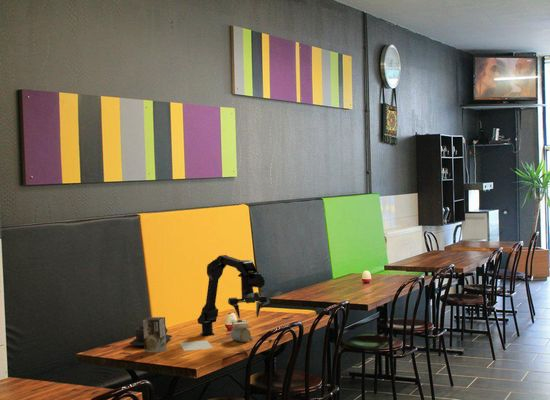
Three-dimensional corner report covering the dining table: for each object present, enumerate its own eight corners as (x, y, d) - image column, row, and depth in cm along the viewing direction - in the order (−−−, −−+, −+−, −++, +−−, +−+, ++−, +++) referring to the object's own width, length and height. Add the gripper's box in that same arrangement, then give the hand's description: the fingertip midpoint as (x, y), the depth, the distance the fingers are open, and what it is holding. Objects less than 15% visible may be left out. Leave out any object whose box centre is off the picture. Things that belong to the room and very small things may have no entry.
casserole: (152, 337, 391) (151, 321, 391) (180, 339, 382) (180, 323, 382) (121, 347, 369) (120, 330, 369) (150, 350, 360) (149, 333, 360)
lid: (231, 324, 377) (231, 318, 377) (245, 323, 379) (245, 317, 379) (234, 328, 367) (234, 322, 367) (248, 327, 368) (248, 321, 368)
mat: (179, 344, 372) (179, 343, 372) (207, 341, 375) (207, 340, 375) (184, 351, 354) (184, 350, 354) (213, 349, 358) (213, 348, 358)
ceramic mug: (241, 343, 367) (240, 328, 367) (230, 341, 373) (230, 326, 373) (256, 340, 374) (256, 325, 374) (246, 338, 380) (245, 323, 380)
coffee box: (167, 350, 359) (165, 317, 359) (160, 353, 353) (159, 319, 353) (150, 349, 362) (149, 316, 362) (143, 352, 356) (142, 319, 356)
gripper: (231, 289, 356) (233, 321, 357) (269, 286, 361) (270, 318, 362) (227, 286, 367) (228, 317, 368) (263, 284, 372) (265, 314, 372)
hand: (248, 317), depth 367 cm, fingers open, 9 cm apart
